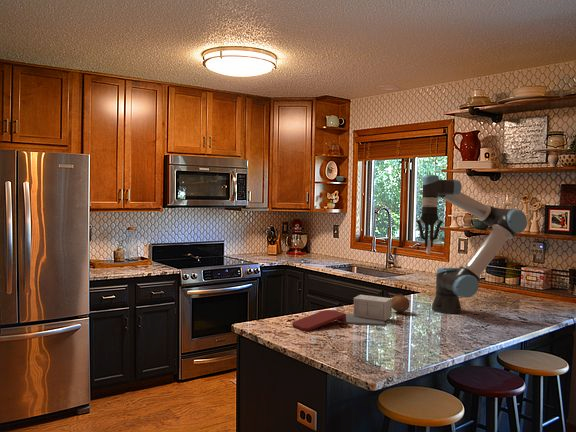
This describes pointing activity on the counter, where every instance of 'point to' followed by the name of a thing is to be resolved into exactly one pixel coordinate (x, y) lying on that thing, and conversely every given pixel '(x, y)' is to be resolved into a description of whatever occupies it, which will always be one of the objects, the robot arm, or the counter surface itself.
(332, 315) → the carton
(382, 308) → the supplement box
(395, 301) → the onion
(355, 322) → the mat
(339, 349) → the counter surface
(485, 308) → the counter surface
